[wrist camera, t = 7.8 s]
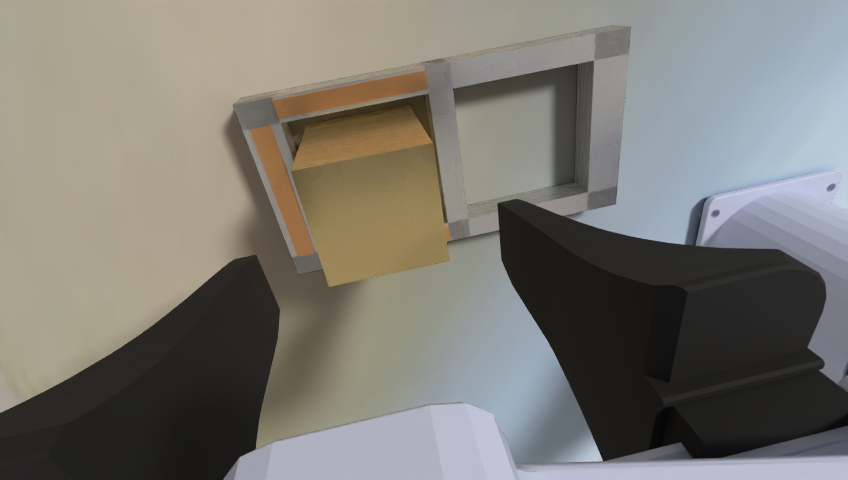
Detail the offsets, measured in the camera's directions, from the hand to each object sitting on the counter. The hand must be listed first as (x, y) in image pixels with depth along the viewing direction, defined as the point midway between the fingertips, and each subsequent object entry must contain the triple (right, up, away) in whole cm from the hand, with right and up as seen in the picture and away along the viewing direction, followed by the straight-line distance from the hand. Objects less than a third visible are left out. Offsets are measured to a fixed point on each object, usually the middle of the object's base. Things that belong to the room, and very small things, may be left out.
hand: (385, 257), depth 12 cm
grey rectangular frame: (+2, +5, +7) cm, 9 cm away
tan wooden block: (-1, +4, +7) cm, 8 cm away
